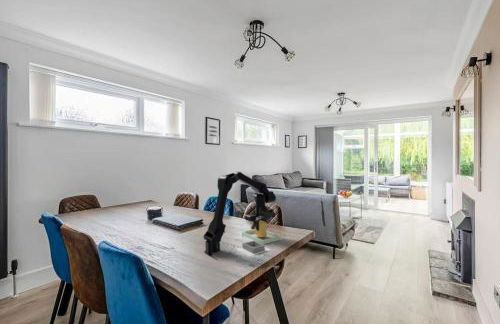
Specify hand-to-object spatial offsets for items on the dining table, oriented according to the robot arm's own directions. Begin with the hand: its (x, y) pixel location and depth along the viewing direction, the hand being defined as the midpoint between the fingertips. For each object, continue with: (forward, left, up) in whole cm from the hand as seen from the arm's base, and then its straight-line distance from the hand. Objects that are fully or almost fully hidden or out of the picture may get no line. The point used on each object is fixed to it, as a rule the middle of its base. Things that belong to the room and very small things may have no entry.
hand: (260, 230), depth 150 cm
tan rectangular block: (0, 0, -3) cm, 3 cm away
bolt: (+12, +19, -6) cm, 23 cm away
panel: (-15, -13, -5) cm, 20 cm away
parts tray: (0, 0, -5) cm, 5 cm away
